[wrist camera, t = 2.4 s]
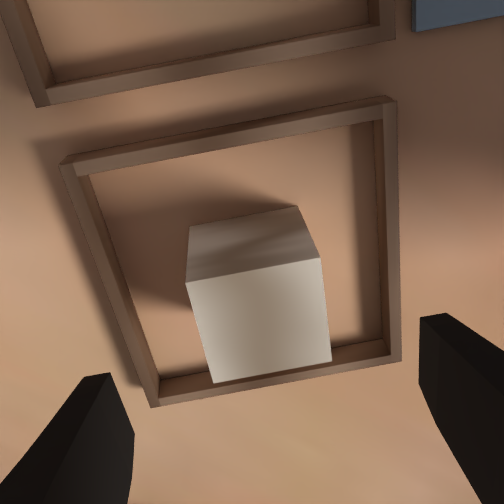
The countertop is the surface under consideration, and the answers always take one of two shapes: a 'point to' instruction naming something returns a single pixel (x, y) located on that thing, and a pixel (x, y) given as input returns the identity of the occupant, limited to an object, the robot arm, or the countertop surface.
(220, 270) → the cube
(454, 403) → the robot arm
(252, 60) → the tray near
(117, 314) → the tray far
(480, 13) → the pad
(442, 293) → the countertop surface
